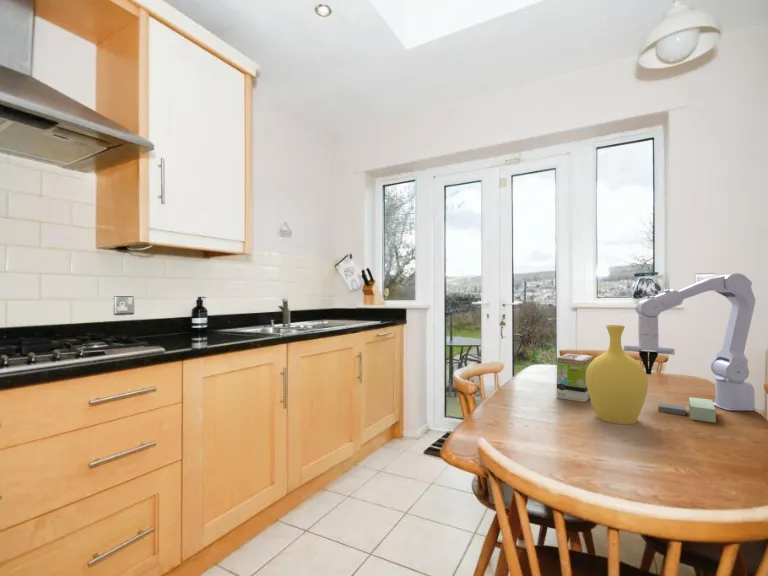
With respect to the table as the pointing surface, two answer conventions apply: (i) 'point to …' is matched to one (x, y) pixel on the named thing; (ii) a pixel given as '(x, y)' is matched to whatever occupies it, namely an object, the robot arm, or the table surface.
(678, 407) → the gray block
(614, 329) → the vase
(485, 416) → the table surface
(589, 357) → the tea box
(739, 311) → the robot arm
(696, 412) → the pale green block
